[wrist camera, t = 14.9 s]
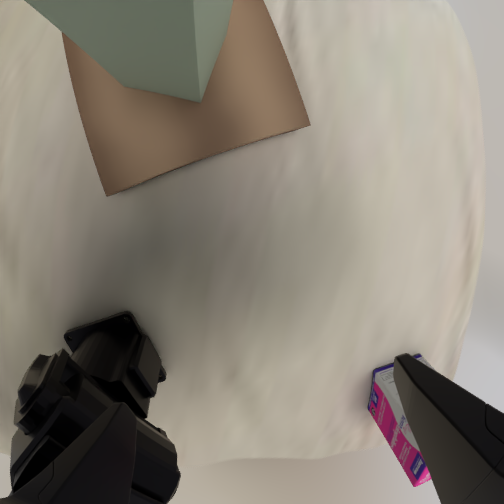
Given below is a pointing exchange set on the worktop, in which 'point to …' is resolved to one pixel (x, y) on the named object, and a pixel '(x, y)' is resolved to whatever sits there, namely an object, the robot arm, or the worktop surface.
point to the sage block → (147, 39)
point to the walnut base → (189, 105)
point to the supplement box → (397, 423)
